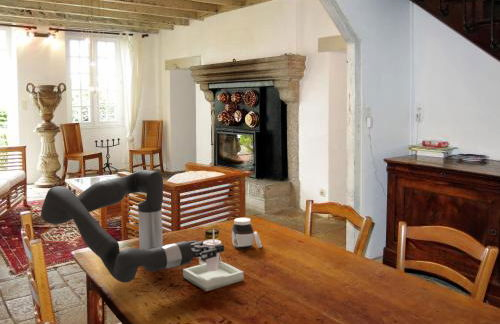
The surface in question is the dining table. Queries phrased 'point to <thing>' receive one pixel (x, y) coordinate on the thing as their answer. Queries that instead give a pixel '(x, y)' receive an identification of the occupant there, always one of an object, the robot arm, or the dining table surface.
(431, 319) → the dining table surface
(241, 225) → the spread jar
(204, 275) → the tray
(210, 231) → the condiment
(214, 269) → the smoothie
